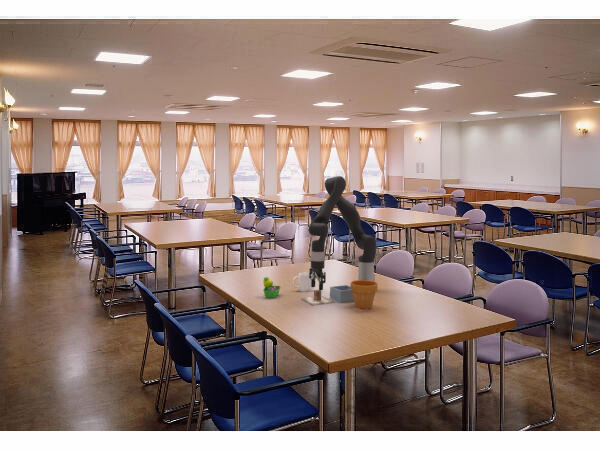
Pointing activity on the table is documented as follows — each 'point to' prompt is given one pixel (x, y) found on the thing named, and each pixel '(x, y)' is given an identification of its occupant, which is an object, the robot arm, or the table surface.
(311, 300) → the lid
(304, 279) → the cup
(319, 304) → the mat
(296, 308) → the table surface
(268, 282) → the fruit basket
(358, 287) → the flower pot
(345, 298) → the blue gray open box
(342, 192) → the robot arm
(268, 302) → the table surface
